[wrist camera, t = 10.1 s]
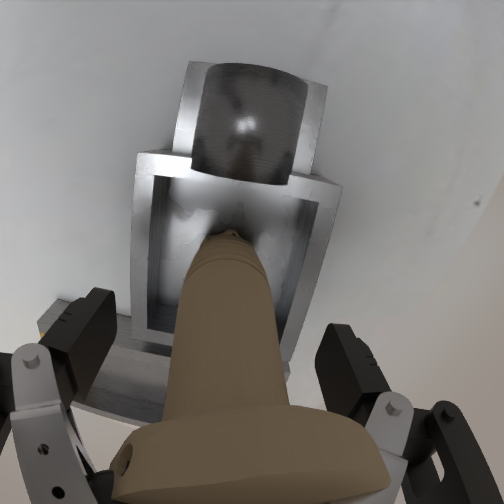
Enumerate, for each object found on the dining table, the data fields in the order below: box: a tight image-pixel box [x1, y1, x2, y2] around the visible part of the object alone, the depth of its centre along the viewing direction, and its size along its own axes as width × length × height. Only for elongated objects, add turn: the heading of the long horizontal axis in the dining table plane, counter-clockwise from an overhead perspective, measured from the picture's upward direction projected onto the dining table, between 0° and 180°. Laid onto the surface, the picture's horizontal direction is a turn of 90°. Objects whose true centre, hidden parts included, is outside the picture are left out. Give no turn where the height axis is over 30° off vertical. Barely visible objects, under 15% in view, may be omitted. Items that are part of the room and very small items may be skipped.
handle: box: [109, 229, 391, 504], centre depth 11 cm, size 5×6×15 cm
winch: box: [130, 61, 343, 361], centre depth 15 cm, size 16×10×6 cm, turn 170°
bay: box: [37, 299, 290, 427], centre depth 21 cm, size 10×19×4 cm, turn 80°
